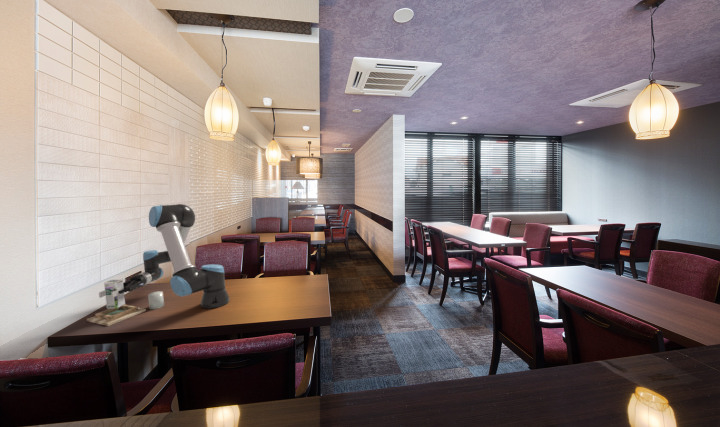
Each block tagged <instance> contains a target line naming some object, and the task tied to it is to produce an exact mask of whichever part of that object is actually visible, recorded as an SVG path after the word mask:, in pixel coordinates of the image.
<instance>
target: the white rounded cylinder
mask: <svg viewBox="0 0 720 427" xmlns="http://www.w3.org/2000/svg"><path fill="white" fill-rule="evenodd" d="M147 296H148V298H147V299H148V307H149V310H157V309H161V308H163V307H164V306H165V299H164V291H161V290H160V291H158V290H157V291H153V292H150V293H148V295H147Z"/></svg>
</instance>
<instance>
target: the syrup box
mask: <svg viewBox="0 0 720 427" xmlns="http://www.w3.org/2000/svg"><path fill="white" fill-rule="evenodd" d="M123 283H124V279H123V278H120V279H118V278H117V279H110V280H107V281H105V282H104V283H103V284H104V290H105V295H106V296H105V305H106V310H107V309H110V308H119V307H121V306H122V305H124V304H125V305H126V300H125V292H124V293H122V294H120V295H117V296H115V297H112V295H111V292H114V291H116V290H118V289H120V288H123V289H124V287H123Z"/></svg>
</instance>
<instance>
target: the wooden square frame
mask: <svg viewBox="0 0 720 427" xmlns="http://www.w3.org/2000/svg"><path fill="white" fill-rule="evenodd" d="M146 311H147V310H146V308H142V307H138V306H135V305H129V304H126V303H125V304H124V305H122V306H121V307H119V308H108V309H107V308H106V309H105V310H103V311H100V312H97V313H95V314H94V316H91V317H89V318H88V317H87V318H86V321H87V322H89V323H93V324H97V325H101V326H102V325H103V326H106V327H110V326H113V325H114V324H117V323H119V322H122V321H124V320H127V319H129V318H132V317H134V316H137V315H139V314H143V313H144V312H146Z"/></svg>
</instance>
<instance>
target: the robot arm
mask: <svg viewBox="0 0 720 427" xmlns="http://www.w3.org/2000/svg"><path fill="white" fill-rule="evenodd" d="M195 221H196V214H195V212H194V210H193V209H192V208H191V207H190V206H189V205H186V204H183V203H179V204H178V203H177V204H165V205H162V204H160V205H153V206H152V207H151V208H150V210H149V212H148V223H149V225H150V227H152V228H156V231H157V232H160V233H161V236H162V239H163V243H164V245H165V248H166V250H165V251H159V252H158V250H156V249H152V250H146V251H144V252H143V254H142V260H143V268H144V271H143V272H141V273H138V274H136V275H133V276H132V277H130V279H129V280H127V281H123V287H124V289H123V288H120V289H118V290H116V291H114V292H111V295H112V297H115V296H117V295H120V294H122V293H124V294H125V293H127V292H128V293H130V292H132V291H134V290H137V289H140V288H142V287H144V286H147V285H148V284H150V283H152V282H154V281H157V280H159V279H160V278H162V277H163V275H164V270H163V268H161V267H160V264H164V263H170V262H171V265H172V267H173V272H172V275H171V276H172V277H171V278H170V279H169V282H170V288H171V289H172V291H173V293H174V294H175V295H176V296H178V297H186V296H190V295H192V294H194V293H198V292H203V293H202V296H201V297H202V298H201V301H200V307H201V308H202V309H214V308H215V309H216V308H220V307H223V306H225V305H227V304H228V303H229V302H230V296H229V294H228V292H227V289H226V281H225V269H224V266H223V265H222V264H214V263H212V264H204V265H202V266H201V267H200V269H198V267H197V266H196V265H193V264H192V262H191V259H190V256H189V253H188V249H187V248H186V244H185V243H186V240H187V237H188V235H189V232H190V230H191V228H192V227H193V226H194V225H195ZM103 297H106V295H105V289H104V290H102V291H100V292H98V298H100V299H101V298H103Z"/></svg>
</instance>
